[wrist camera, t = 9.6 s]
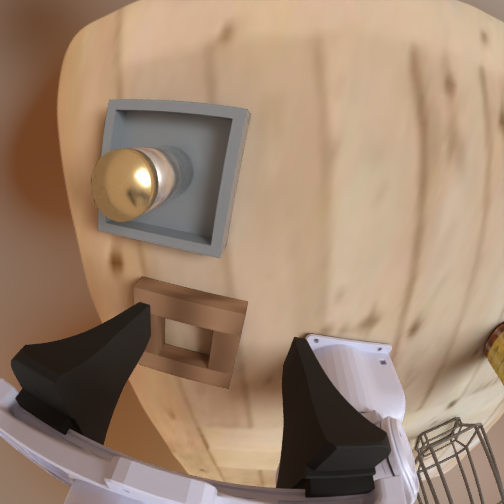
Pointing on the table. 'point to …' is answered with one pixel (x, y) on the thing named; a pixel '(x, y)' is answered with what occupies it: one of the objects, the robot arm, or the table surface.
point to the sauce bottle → (496, 351)
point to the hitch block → (198, 314)
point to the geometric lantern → (491, 459)
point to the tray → (204, 169)
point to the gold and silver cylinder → (139, 180)
